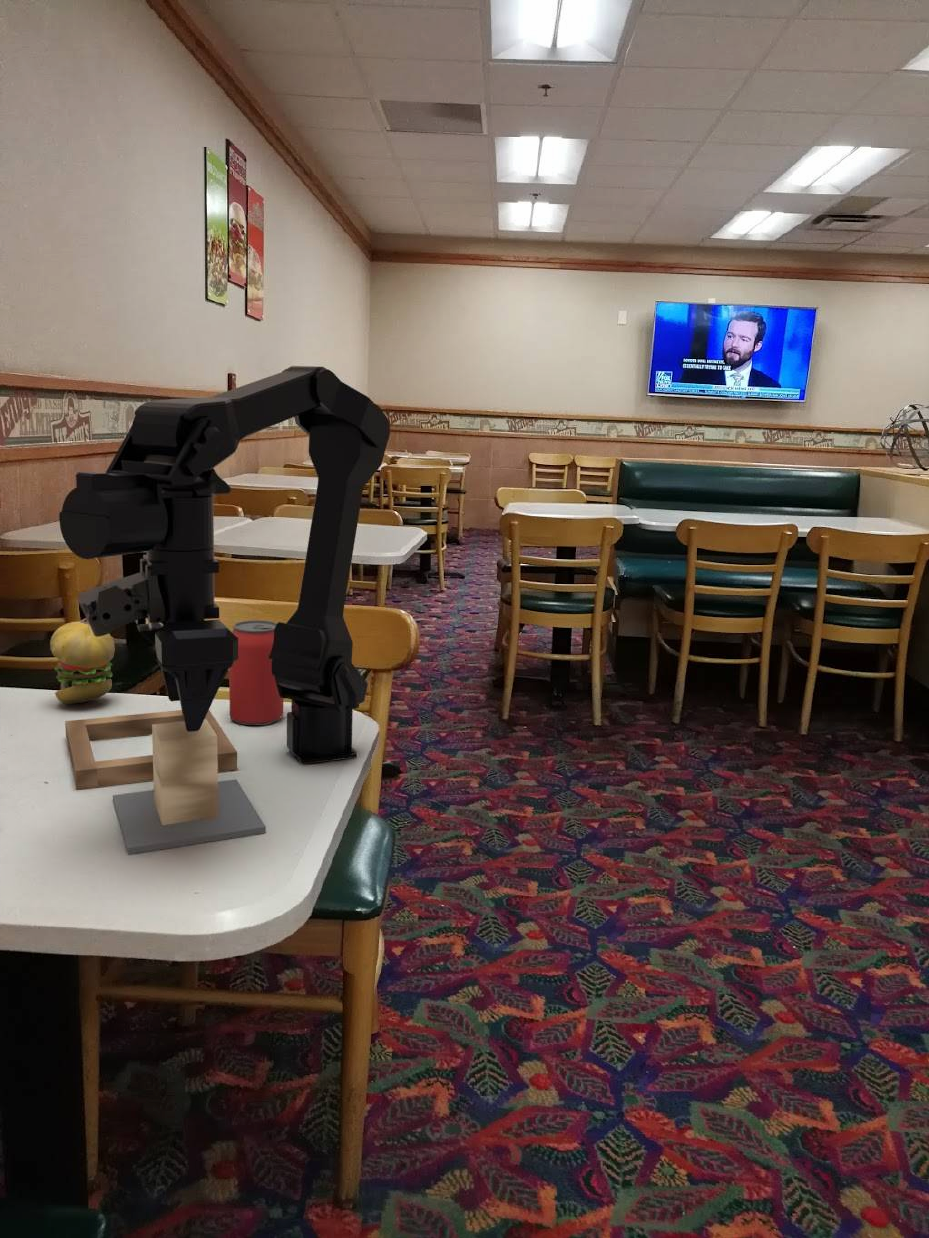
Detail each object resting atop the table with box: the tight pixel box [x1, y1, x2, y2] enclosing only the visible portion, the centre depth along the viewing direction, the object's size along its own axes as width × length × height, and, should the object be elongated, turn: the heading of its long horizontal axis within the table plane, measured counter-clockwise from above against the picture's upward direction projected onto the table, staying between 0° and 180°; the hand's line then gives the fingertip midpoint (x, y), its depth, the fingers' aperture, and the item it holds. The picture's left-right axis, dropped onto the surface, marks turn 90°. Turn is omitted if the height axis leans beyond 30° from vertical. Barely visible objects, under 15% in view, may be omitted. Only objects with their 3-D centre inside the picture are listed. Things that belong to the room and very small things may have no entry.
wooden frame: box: [64, 709, 238, 791], centre depth 103 cm, size 16×16×2 cm
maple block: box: [151, 719, 219, 825], centre depth 87 cm, size 5×5×8 cm
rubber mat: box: [111, 778, 267, 856], centre depth 88 cm, size 12×12×1 cm
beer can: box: [228, 619, 284, 726], centre depth 115 cm, size 7×7×12 cm
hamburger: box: [49, 617, 116, 705], centre depth 117 cm, size 8×7×12 cm
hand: (183, 715), depth 86 cm, fingers open, 9 cm apart
